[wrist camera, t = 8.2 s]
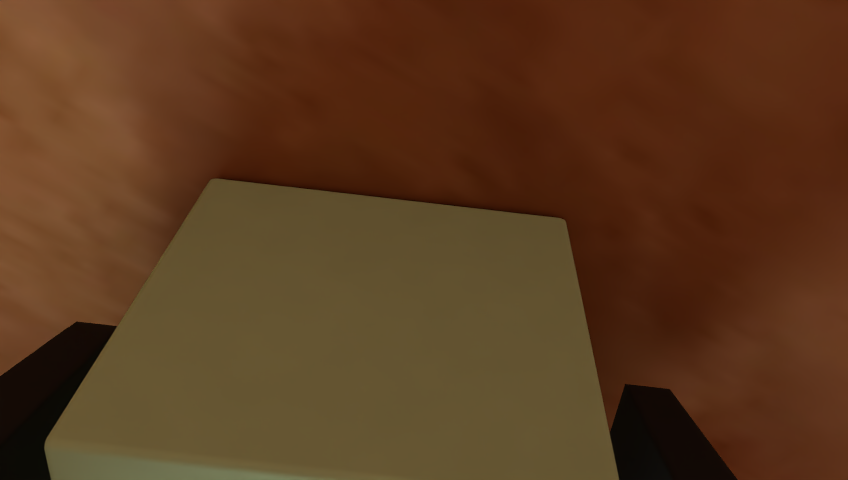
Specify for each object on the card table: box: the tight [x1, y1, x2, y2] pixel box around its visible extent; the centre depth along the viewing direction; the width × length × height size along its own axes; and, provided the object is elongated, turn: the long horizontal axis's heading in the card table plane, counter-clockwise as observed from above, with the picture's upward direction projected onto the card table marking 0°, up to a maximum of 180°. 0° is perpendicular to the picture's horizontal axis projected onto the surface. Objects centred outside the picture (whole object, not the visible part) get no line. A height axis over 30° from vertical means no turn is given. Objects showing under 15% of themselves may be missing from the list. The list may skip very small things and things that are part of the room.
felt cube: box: [44, 178, 619, 480], centre depth 10 cm, size 5×5×5 cm
